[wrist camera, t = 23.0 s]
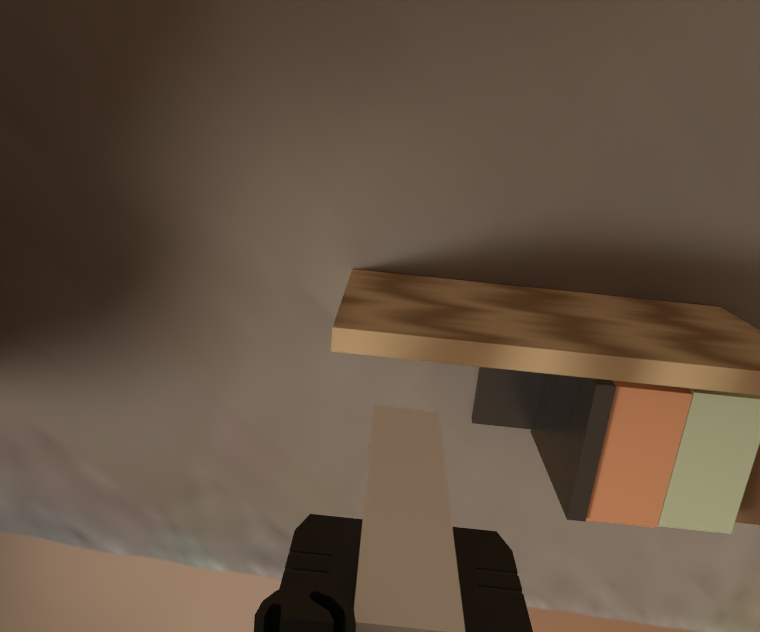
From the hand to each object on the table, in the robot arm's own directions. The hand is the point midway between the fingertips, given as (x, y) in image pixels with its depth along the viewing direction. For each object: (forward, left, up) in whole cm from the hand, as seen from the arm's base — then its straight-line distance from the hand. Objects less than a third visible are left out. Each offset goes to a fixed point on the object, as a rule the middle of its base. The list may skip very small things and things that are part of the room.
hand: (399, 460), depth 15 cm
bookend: (+9, -8, -26) cm, 29 cm away
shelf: (+10, -7, -26) cm, 29 cm away
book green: (+17, -8, -27) cm, 33 cm away
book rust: (+13, -8, -27) cm, 31 cm away
